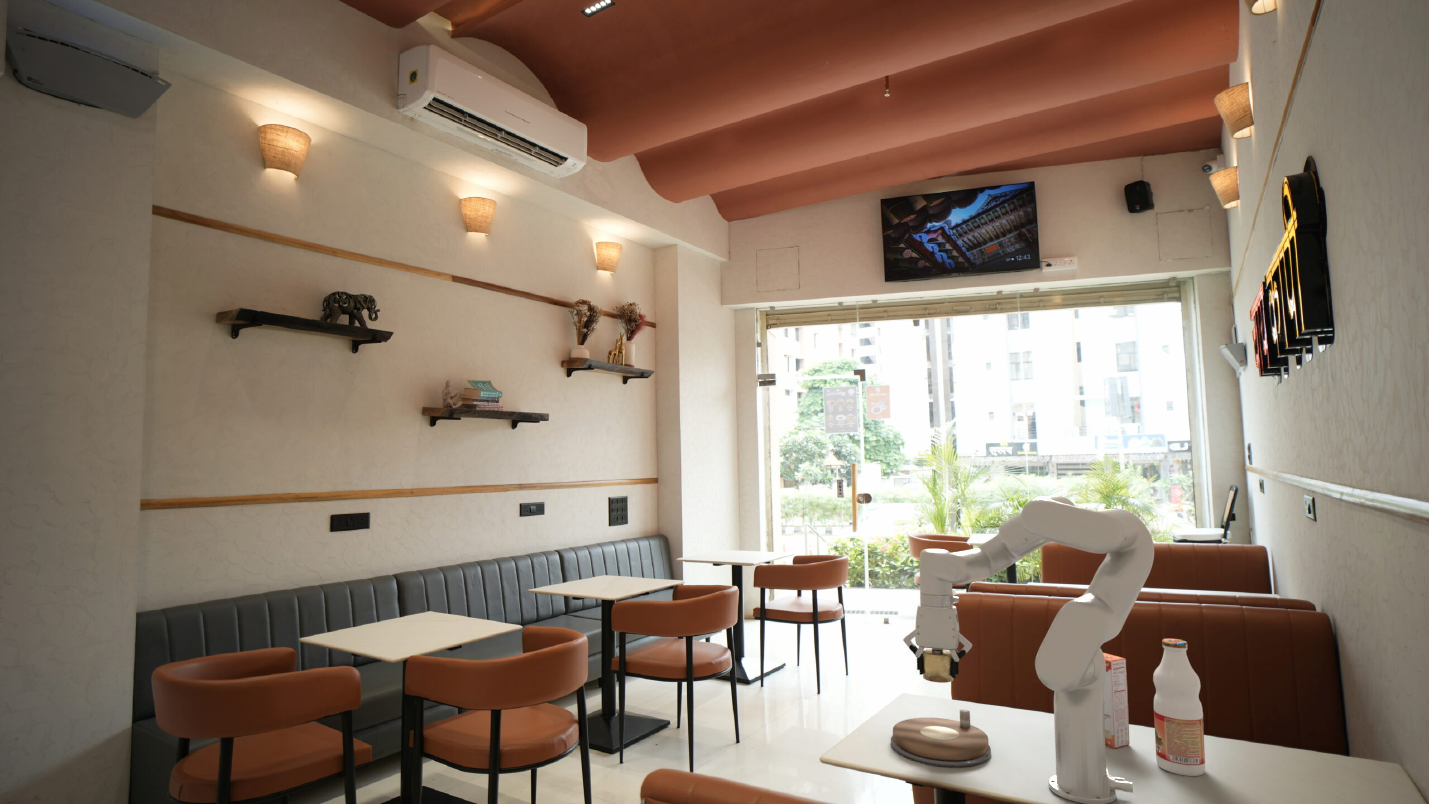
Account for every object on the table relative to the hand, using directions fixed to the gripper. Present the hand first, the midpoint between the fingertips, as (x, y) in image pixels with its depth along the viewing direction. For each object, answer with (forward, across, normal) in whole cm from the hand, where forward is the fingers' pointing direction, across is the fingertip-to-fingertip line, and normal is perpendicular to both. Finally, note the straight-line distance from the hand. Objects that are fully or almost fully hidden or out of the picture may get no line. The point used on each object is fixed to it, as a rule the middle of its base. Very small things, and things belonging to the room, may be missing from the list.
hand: (938, 674), depth 180 cm
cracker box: (+17, -35, -22) cm, 45 cm away
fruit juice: (+17, -51, -9) cm, 55 cm away
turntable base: (+17, 0, 0) cm, 17 cm away
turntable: (+16, 0, 0) cm, 16 cm away
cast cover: (+1, 0, 0) cm, 1 cm away
